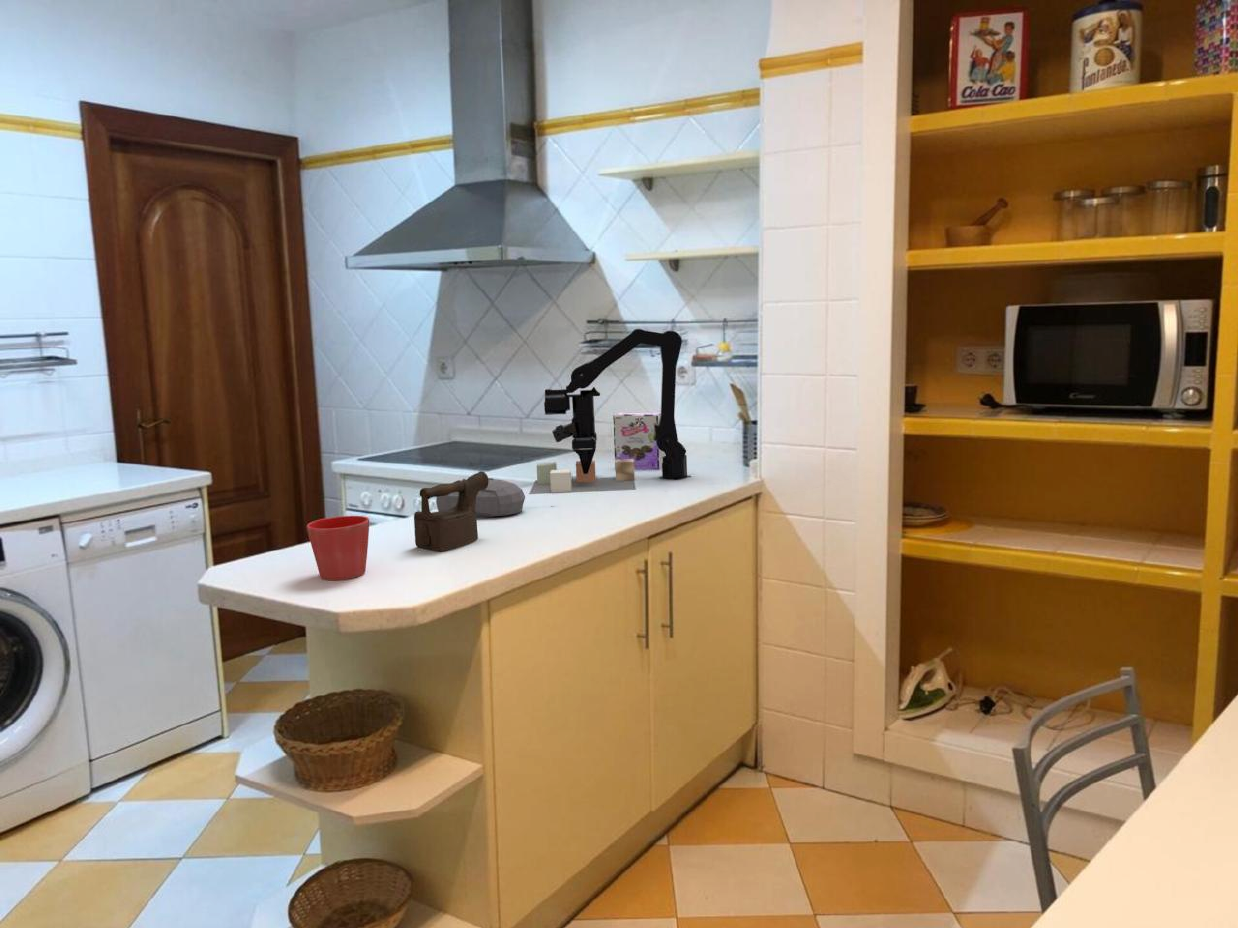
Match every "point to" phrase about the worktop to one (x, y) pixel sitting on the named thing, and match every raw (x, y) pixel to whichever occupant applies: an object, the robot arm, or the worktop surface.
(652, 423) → the candy box
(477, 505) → the soft grey pack
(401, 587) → the worktop surface
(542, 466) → the sage block
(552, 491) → the taupe block
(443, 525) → the clothes iron
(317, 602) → the worktop surface
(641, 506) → the worktop surface
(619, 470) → the beech block
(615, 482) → the slate mat
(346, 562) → the flower pot
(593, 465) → the terracotta block
